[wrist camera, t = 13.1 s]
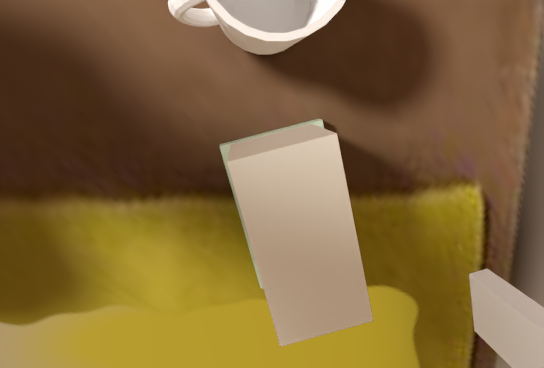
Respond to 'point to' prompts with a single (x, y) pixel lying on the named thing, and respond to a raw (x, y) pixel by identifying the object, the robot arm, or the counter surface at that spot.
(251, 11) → the mug
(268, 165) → the white rectangular block
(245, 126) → the counter surface
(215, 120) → the counter surface
